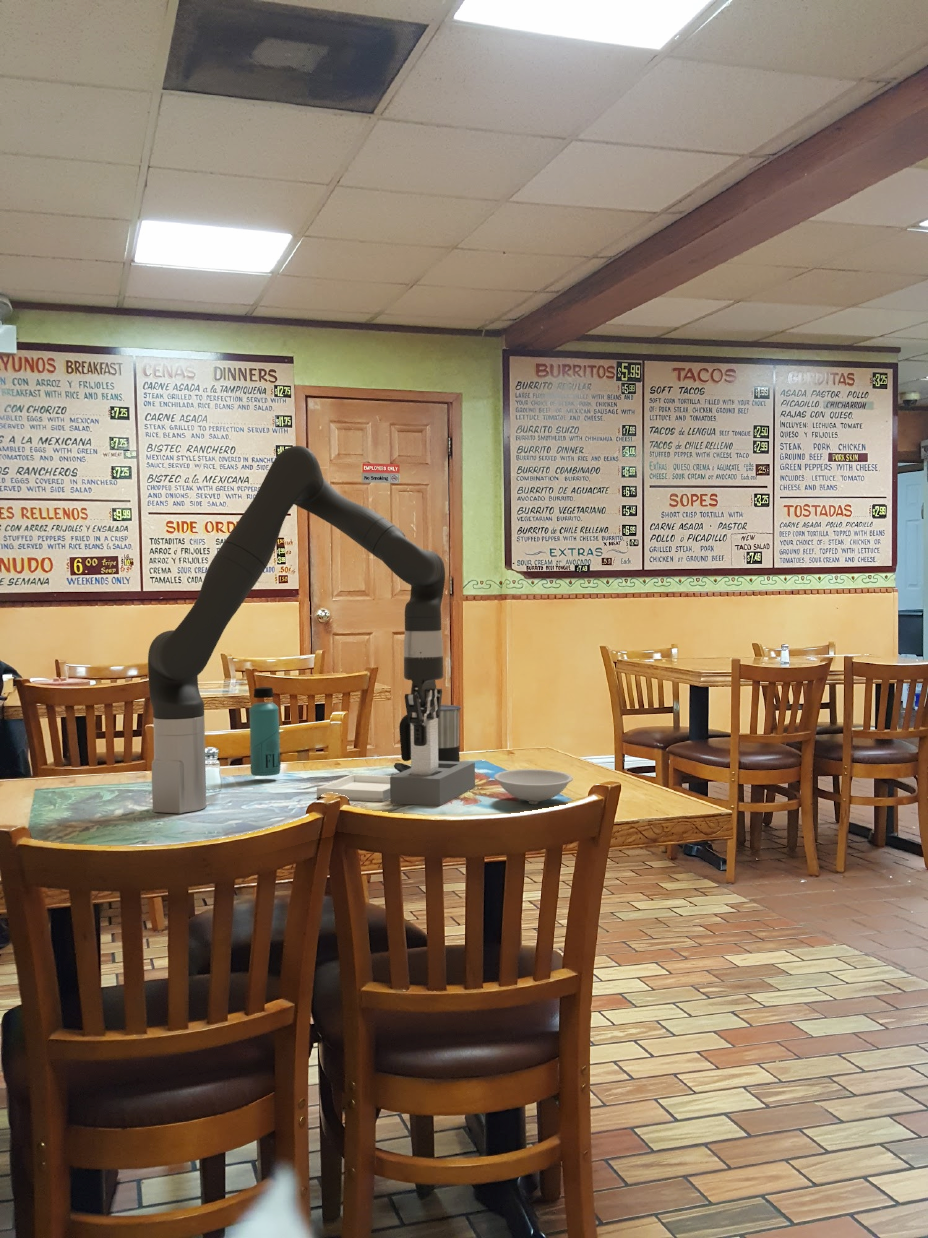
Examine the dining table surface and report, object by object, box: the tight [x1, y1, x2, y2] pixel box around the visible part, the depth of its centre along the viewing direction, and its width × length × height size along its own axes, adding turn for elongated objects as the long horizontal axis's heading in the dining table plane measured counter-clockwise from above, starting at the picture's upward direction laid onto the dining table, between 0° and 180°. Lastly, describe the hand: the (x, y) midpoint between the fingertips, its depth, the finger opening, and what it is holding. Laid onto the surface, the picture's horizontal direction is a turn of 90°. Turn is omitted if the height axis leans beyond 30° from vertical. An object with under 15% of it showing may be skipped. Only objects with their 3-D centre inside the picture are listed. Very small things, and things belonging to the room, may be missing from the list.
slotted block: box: [389, 761, 476, 807], centre depth 210 cm, size 20×10×5 cm, turn 160°
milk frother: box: [393, 704, 462, 773], centre depth 231 cm, size 14×16×15 cm
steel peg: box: [410, 718, 438, 776], centre depth 205 cm, size 4×4×11 cm
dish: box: [493, 768, 574, 805], centre depth 200 cm, size 18×14×5 cm
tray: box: [316, 773, 392, 802], centre depth 214 cm, size 16×14×2 cm
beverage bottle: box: [249, 686, 282, 777], centre depth 229 cm, size 6×7×20 cm
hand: (424, 743), depth 205 cm, fingers closed on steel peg, 4 cm apart
